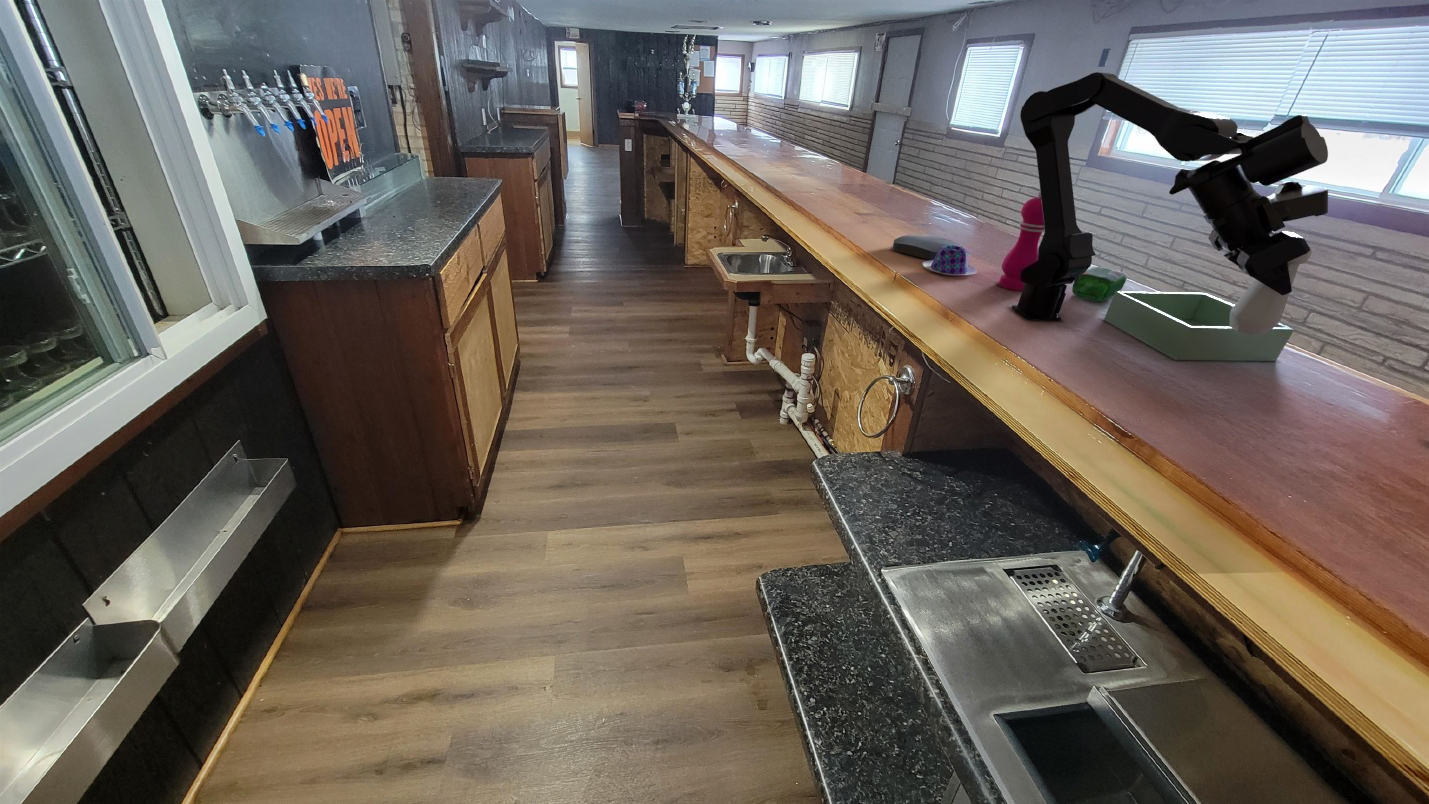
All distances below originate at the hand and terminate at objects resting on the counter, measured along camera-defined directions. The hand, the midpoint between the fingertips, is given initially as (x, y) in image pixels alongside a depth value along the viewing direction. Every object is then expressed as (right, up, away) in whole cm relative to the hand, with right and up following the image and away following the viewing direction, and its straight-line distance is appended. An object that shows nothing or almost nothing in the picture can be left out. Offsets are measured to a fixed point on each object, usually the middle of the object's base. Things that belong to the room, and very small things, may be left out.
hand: (1282, 290), depth 82 cm
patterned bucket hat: (-28, +14, +50) cm, 59 cm away
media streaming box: (-28, +22, +64) cm, 73 cm away
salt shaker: (-2, -6, +4) cm, 7 cm away
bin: (0, -5, +18) cm, 18 cm away
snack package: (-2, +6, +38) cm, 38 cm away
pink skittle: (-17, +9, +41) cm, 45 cm away
